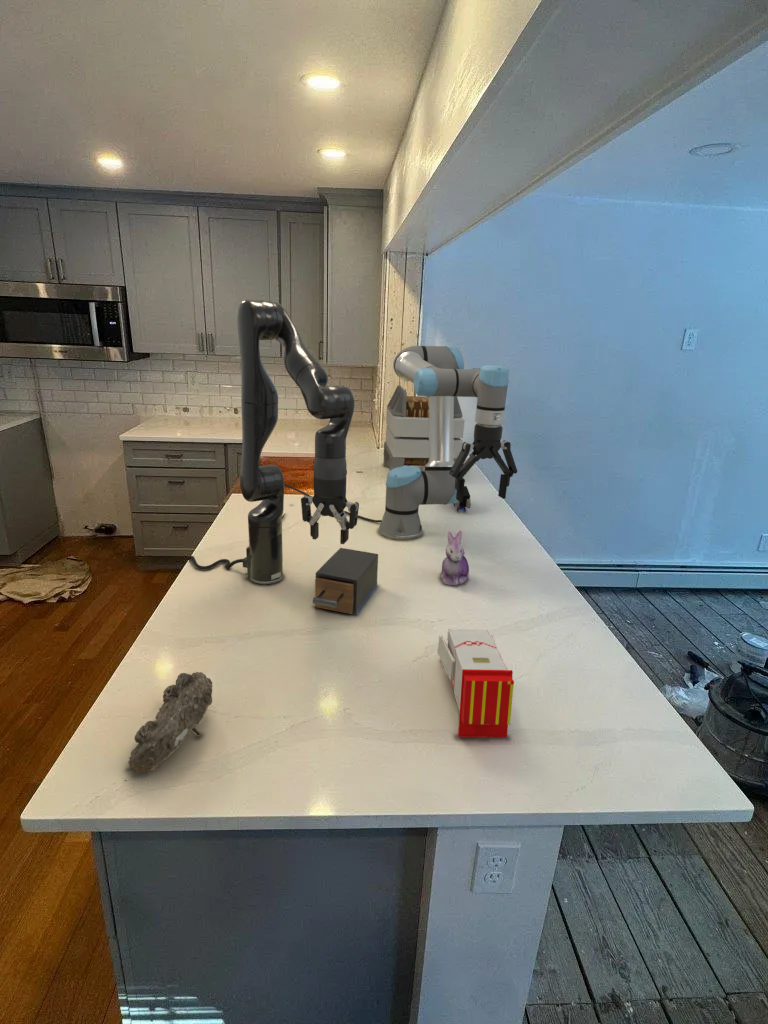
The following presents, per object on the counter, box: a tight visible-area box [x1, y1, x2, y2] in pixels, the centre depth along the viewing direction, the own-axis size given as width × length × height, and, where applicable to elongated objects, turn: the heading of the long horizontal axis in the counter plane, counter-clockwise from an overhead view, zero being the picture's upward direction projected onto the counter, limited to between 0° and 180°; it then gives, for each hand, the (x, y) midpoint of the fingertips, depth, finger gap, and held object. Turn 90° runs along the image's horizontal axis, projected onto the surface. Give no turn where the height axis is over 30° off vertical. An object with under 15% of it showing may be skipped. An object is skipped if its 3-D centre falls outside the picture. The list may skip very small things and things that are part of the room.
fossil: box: [128, 671, 213, 773], centre depth 102 cm, size 22×10×15 cm
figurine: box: [440, 530, 470, 586], centre depth 165 cm, size 9×10×15 cm
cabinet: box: [315, 547, 379, 616], centre depth 154 cm, size 18×11×10 cm, turn 163°
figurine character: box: [453, 485, 472, 513], centre depth 228 cm, size 7×8×15 cm
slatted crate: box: [383, 384, 465, 471], centre depth 268 cm, size 34×33×41 cm
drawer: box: [312, 577, 354, 615], centre depth 149 cm, size 22×10×8 cm, turn 163°
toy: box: [437, 628, 515, 738], centre depth 117 cm, size 12×13×30 cm
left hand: (329, 540), depth 136 cm, fingers open, 6 cm apart
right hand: (480, 499), depth 161 cm, fingers open, 13 cm apart
